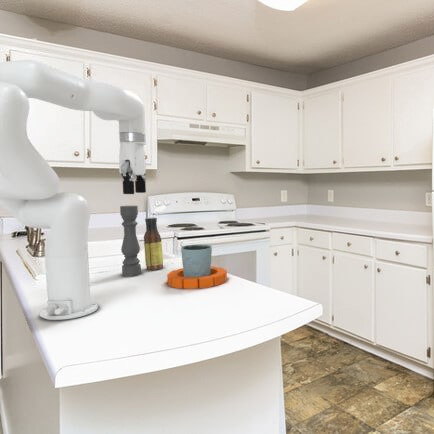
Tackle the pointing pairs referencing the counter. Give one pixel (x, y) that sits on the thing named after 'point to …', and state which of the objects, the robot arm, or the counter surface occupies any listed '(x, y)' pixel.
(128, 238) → the candle holder
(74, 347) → the counter surface
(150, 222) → the sauce bottle
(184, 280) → the ring
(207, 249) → the blue-grey plant pot
